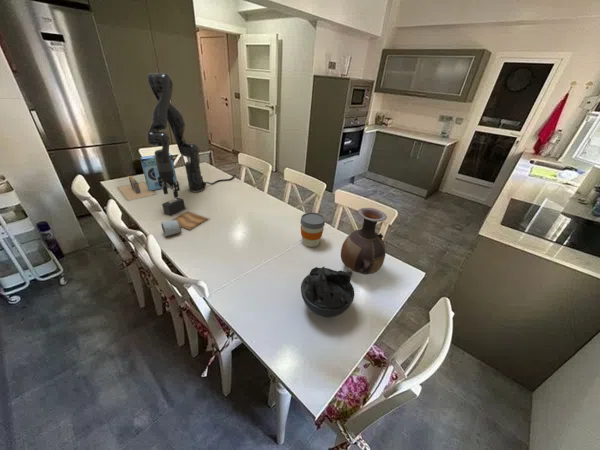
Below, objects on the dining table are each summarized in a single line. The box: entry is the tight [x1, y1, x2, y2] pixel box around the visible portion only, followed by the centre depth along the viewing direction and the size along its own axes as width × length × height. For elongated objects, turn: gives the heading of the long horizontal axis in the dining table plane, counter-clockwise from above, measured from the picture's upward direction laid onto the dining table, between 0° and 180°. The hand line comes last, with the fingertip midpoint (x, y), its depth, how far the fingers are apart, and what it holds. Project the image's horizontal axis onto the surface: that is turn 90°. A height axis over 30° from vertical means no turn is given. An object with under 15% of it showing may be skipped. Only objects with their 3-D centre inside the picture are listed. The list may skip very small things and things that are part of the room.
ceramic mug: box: [160, 219, 182, 237], centre depth 134 cm, size 11×8×8 cm
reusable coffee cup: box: [300, 211, 326, 248], centre depth 132 cm, size 13×13×15 cm
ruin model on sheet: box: [118, 175, 156, 201], centre depth 174 cm, size 25×16×10 cm, turn 44°
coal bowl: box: [300, 266, 355, 318], centre depth 94 cm, size 20×20×19 cm
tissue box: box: [161, 196, 186, 217], centre depth 154 cm, size 11×5×7 cm, turn 153°
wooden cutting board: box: [172, 211, 209, 231], centre depth 147 cm, size 14×16×1 cm
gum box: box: [139, 152, 178, 191], centre depth 177 cm, size 20×5×23 cm, turn 134°
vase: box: [340, 207, 388, 275], centre depth 112 cm, size 23×19×30 cm
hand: (171, 195), depth 150 cm, fingers open, 8 cm apart
